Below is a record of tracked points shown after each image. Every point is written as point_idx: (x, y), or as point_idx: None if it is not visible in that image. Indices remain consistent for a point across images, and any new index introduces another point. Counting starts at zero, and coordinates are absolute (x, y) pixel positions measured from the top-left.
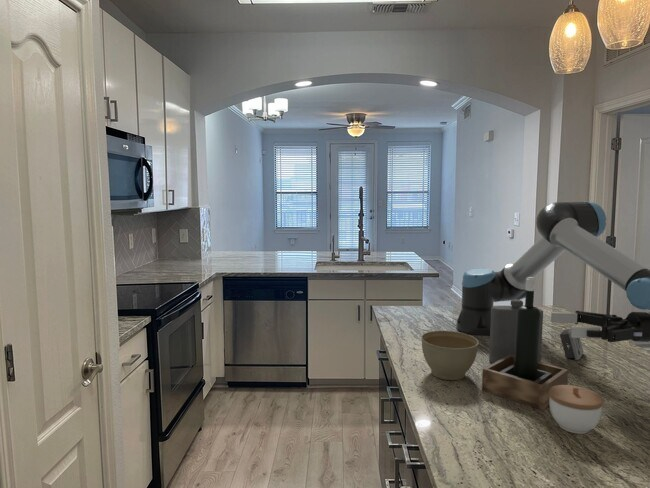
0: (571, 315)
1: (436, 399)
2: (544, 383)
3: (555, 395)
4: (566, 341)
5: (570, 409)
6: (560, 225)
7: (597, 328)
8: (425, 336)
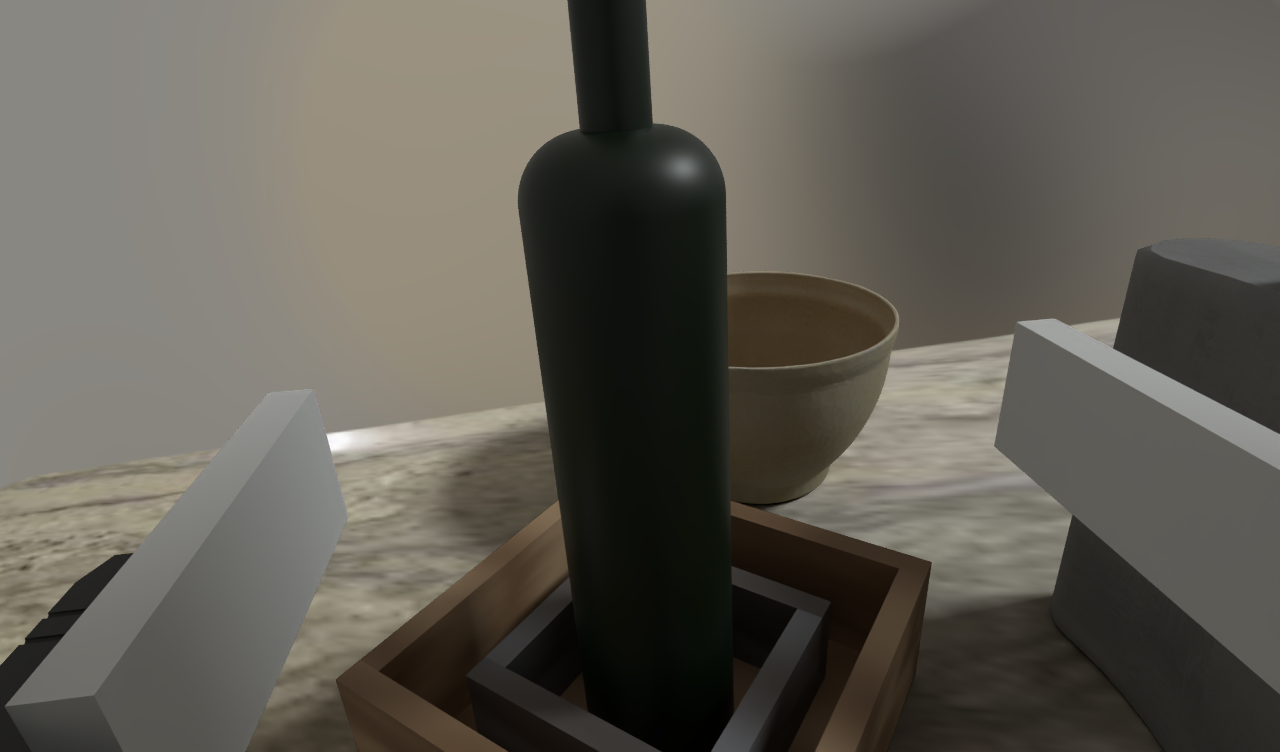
0: (1242, 495)
1: (496, 452)
2: (394, 690)
3: None
4: None
5: None
6: None
7: (65, 659)
8: (789, 286)
